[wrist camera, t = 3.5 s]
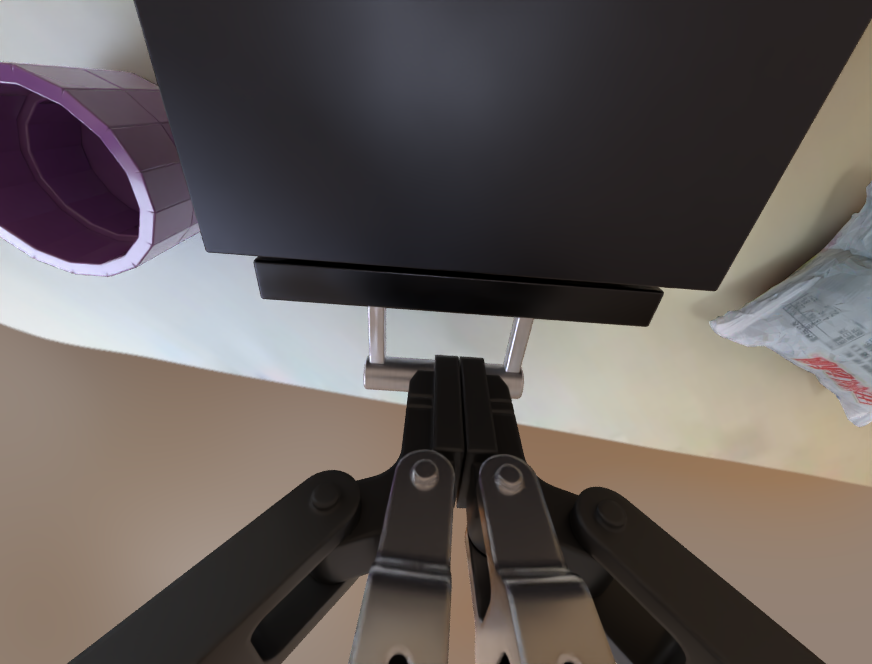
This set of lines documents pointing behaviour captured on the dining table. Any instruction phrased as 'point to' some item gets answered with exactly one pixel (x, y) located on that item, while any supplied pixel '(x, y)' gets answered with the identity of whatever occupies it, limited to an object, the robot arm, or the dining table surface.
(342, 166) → the cabinet
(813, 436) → the dining table surface
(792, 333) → the packaged food
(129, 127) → the cup
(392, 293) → the drawer
